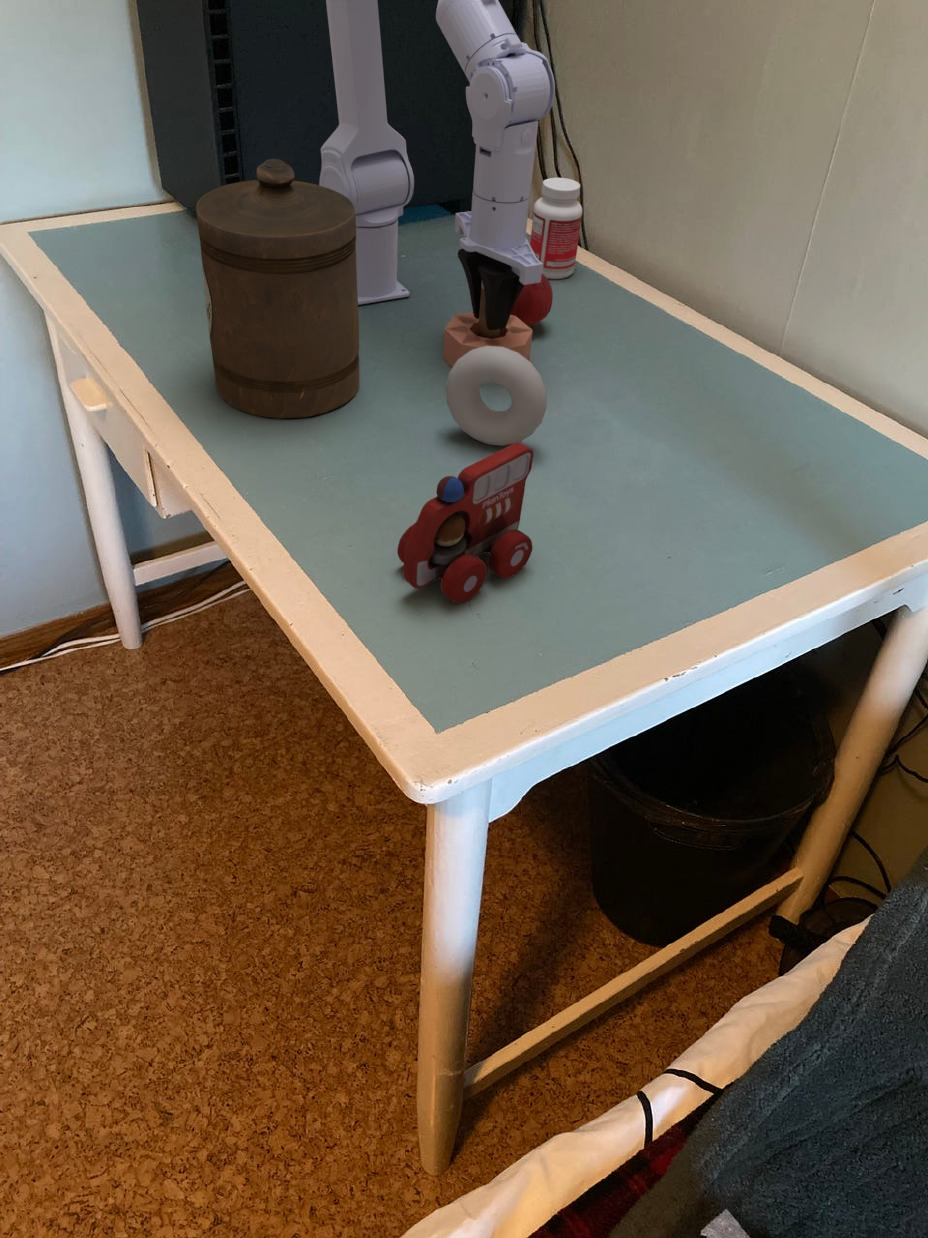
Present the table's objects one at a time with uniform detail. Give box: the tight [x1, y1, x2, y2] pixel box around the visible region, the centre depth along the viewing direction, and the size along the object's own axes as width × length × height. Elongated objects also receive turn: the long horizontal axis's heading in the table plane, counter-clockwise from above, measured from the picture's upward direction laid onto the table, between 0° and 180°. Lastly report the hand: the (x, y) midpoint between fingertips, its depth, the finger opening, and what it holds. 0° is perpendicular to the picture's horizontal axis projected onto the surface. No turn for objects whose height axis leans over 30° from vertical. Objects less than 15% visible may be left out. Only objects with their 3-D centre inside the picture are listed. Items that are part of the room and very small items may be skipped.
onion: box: [511, 274, 554, 328], centre depth 111 cm, size 6×6×8 cm
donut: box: [445, 346, 548, 447], centre depth 92 cm, size 10×4×10 cm, turn 71°
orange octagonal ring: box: [442, 311, 534, 369], centre depth 107 cm, size 9×9×4 cm
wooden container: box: [195, 158, 360, 419], centre depth 94 cm, size 15×15×22 cm
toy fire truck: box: [396, 442, 534, 604], centre depth 77 cm, size 7×12×10 cm, turn 132°
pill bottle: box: [529, 177, 583, 280], centre depth 123 cm, size 6×6×11 cm
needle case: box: [477, 282, 500, 339], centre depth 104 cm, size 2×2×8 cm
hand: (489, 321), depth 105 cm, fingers closed on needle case, 2 cm apart
